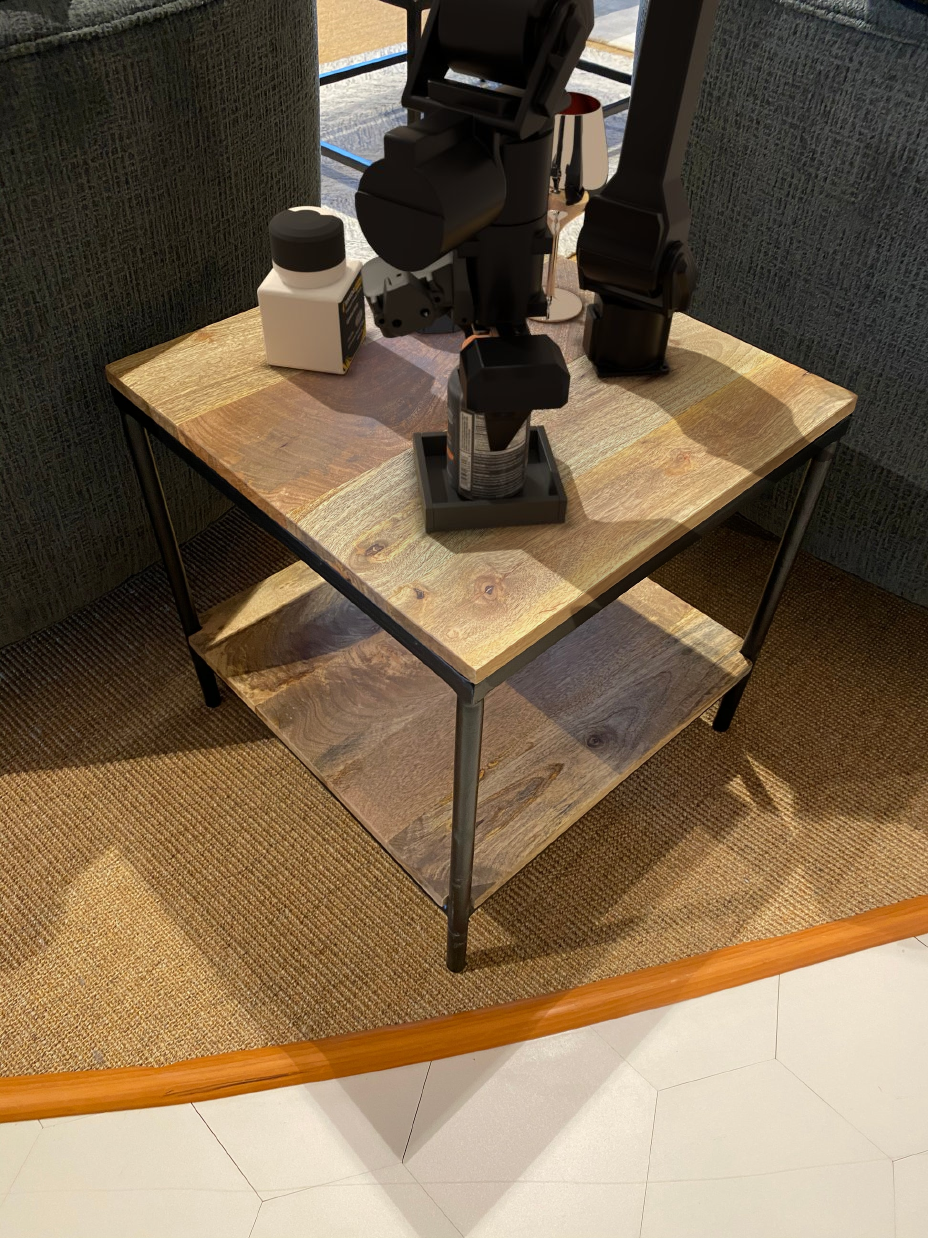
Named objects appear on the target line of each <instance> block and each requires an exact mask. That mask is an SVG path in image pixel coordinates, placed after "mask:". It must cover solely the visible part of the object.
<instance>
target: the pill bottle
mask: <svg viewBox="0 0 928 1238" xmlns="http://www.w3.org/2000/svg"><path fill="white" fill-rule="evenodd" d="M479 337H492V335H491V332H490V334H488V335H480V336H478V335H472V336H470V337H469V338H467V339H466V340H465V339H464V341H463V343H462V347H461V350H462V349H463V348H464V347H465V346H467V345H468V344H469V343H470V342H471V341H472V340H473V339H474V338H479ZM458 368H459V364H457V365H456V366H455V367H454V368H453V370H451V372H450V373H449V376H448V379H447V383H446V388H447V389H446V431H447V478H448V481H449V483H450V485H451V487H452V488H453V489H454V490H455V491H456V492H457V493H459V494H460V495H462V496H464V497H466V498H469V499H472V500H476V501H479V500H494V499H507V498H509V497H511V496H513V495H515V494H516V493H517V492H519V491H520V489H521V488H522V487H523V486H524V483H525V480H526V475H527V462H528V450H529V438H530V437H529V436H530V426H531V421H532V413H531V414H530V415H529V417H528V418H527V419H526V421H525V422H524V424H523V425H522V427H521V428H520V430H519V431H518V433H517V434H516V435H515V437H514V438H513V440H512V441H511V443H510V444H509V446H508V447H507V449H506V450H504V451H495V452H492V451H490V449H489V444H488V438H487V433H486V427H485V421H484V415H483V413H480V414H477V413H474V412H472V411H470V410H468V409H466V405H465V401H464V397H463V393H462V389H461V385H460V380H459V376H458V372H457V369H458Z"/></svg>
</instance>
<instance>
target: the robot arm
mask: <svg viewBox="0 0 928 1238" xmlns="http://www.w3.org/2000/svg"><path fill="white" fill-rule="evenodd" d="M720 1H721V0H648V5H647V11H646V15H645V22H644V26H643V30H642V31H643V32H642V36H641V42H640V47H639V52H638V58H637V63H636V68H635V74H634V77H633V78H634V79H633V83H632V84H633V85H632V90H631V95H630V100H629V104H628V105H629V106H628V111H627V116H626V121H625V126H624V131H623V137H622V142H621V147H620V153H619V156H618V157H619V158H618V163H617V167H616V171H615V173H614V174H613V175H612V176H611V177H610V178H609V180H607V183H606V185H605V186H604V187H603V188H602V190H601V191H600V192H599V193H598V194H597V195H593V196H592V197H591V198H590V199H589V201H588V202H587V204H586V205H585V212H584V213H583V222H582V226H581V228H580V231H579V232H578V236H577V239H576V243H575V256H576V267H577V268H576V269H577V279H578V288H579V290H582V291H585V292H586V291H588V292H591V293H594V296H593V303H589V304H588V305H587V306H586V310H585V311H586V312H585V320H584V327H583V335H582V345H581V346H582V348H583V351H584V353H585V357H586V359H587V361H589V362H590V363H591V365H592V368H593V370H594V372H595V375H596V377H598V378H600V379H613V378H615V379H616V378H632V377H646V376H647V377H651V376H652V377H653V376H667V375H669V374H670V372H671V366H670V364H669V362H668V360H667V358H666V354H667V349H668V345H669V344H668V343H669V339H670V334H671V327H672V322H673V318H674V314H675V313H676V314H678V313H685V312H688V311H689V310H690V307H691V302H692V298H693V294H694V293H695V290H696V289H697V281H698V279H699V278H698V277H699V274H700V270H699V267H698V265H697V263H696V260H695V259H694V255H693V253H692V251H691V248H690V246H689V244H688V239H689V232H690V228H691V222H692V212H691V208H690V206H689V202H688V199H687V195H686V193H685V189H684V186H683V182H682V180H681V173H682V168H683V163H684V159H685V155H686V151H687V150H686V149H687V145H688V141H689V136H690V132H691V129H692V124H693V120H694V116H695V115H694V114H695V112H696V111H695V110H696V106H697V103H698V97H699V93H700V89H701V84H702V80H703V76H704V72H705V68H706V67H705V66H706V63H707V58H708V53H709V49H710V44H711V41H712V36H713V32H714V27H715V23H716V19H717V15H718V10H719V5H720ZM594 3H595V1H594V0H432V1H431V5H430V8H429V11H428V15H427V18H426V20H425V24H424V27H423V30H422V33H421V36H420V38H419V42H418V44H417V48H416V51H415V54H414V58H413V60H412V64H411V66H410V70H409V71H408V76H407V79H406V81H405V84H404V87H403V91H402V93H401V97H400V105H401V107H402V108H403V109H407V110H410V111H414V112H418V113H420V114H423V117H422V118H420V119H418V120H416V121H414V122H412V123H410V124H407V125H399V126H396V127H394V128H392V129H390V130H388V131H386V132H385V133H384V135H383V137H382V138H383V157H381V158H379V159H378V160H376V161H374V162H371V164H370V165H369V166H368V167H366V168H365V169H364V171H363V173H362V175H361V176H360V178H359V182H358V187H357V190H356V191H355V193H354V209H355V215H356V220H357V222H358V225H359V228H360V231H361V233H362V235H363V237H364V238H365V241H366V242H367V244H368V245H369V247H370V248H371V249H372V251H373V252H374V253H375V254H376V255H377V256H375V257H373V258H371V259H369V260H368V261H366V262H365V263H364V264H363V266H362V268H361V278H362V285H363V293H364V299H365V300H366V303H367V304H368V306H369V309H370V311H371V314H372V316H373V324H374V326H375V327H376V328H378V329H379V330H380V333H381V335H382V336H383V337H384V338H386V339H395V338H398V337H400V338H403V337H406V336H409V335H411V334H413V333H417V332H416V331H419V330H421V329H424V328H427V327H429V326H431V325H433V323H434V321H435V319H438V318H440V317H442V316H444V315H445V314H446V315H447V316H448V317H449V318H450V319H451V320H452V322H453V325H457V326H459V327H460V328H461V329H460V330H461V331H462V332H463V335H464V336H463V337H464V341H465V340H466V339H467V338H469V337H470V336H472V335H478V336H480V335H488V334H490V332H491V335H492V337H479V338H474V339H473V340H472V341H471V342H470V343H469V344H468V345H467V346H465V347H464V348H463V349H462V348H461V350H459V358H458V360H459V363H458V365H459V368H458V369H457V372H458V376H459V380H460V385H461V389H462V393H463V397H464V401H465V405H466V409H468V410H470V411H472V412H474V413H477V414H480V413H483V415H484V421H485V427H486V433H487V438H488V444H489V449H490V451H492V452H495V451H504V450H506V449H507V447H508V446H509V444H510V443H511V441H512V440H513V438H514V437H515V435H516V434H517V433H518V431H519V430H520V428H521V427H522V425H523V424H524V422H525V421H526V419H527V418H528V417H529V415H530V414H531V415H532V413H533V412H534V411H543V410H545V411H546V410H560V409H562V408H563V407H565V406H566V405H567V404H568V403H569V397H570V389H571V388H570V386H571V377H572V376H571V373H570V371H569V367H568V365H567V363H566V360H565V358H564V357H565V356H564V355H563V352H562V350H561V347H560V345H559V344H557V342H555V341H554V339H552V338H551V337H550V336H549V335H548V334H547V333H540V334H538V333H537V334H532V332H531V329H530V327H529V325H528V321H527V319H530V317H547V308H548V301H547V298H546V295H545V293H544V290H543V288H542V287H543V277H544V276H543V275H544V263H545V255H549V254H552V251H553V240H554V238H553V235H552V233H551V231H550V228H549V226H548V224H547V216H548V202H549V189H550V177H551V165H552V152H553V140H554V128H555V115H557V114H559V113H560V112H562V111H564V110H566V109H567V108H569V106H570V104H571V96H570V94H569V93H568V92H567V91H568V90H567V89H566V87H567V85H568V83H569V81H570V80H571V79H570V78H571V77H572V74H573V72H574V71H575V69H576V67H577V65H578V63H579V61H580V60H581V56H582V54H583V52H584V51H585V50H586V46H587V42H588V39H589V37H590V35H591V33H592V31H593V29H594V27H595V23H596V21H595V4H594ZM449 70H451V71H452V72H453V73H455V74H460V75H464V76H467V77H472V78H477V79H480V80H485V81H488V82H492V83H496V84H500V85H499V86H497V87H495V88H494V89H490V88H486V87H482V86H478V85H474V84H470V83H465V82H463V81H457V80H454V79H450V78H446V75H447V74H448V72H449ZM541 289H542V291H541Z"/></svg>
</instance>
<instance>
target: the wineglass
mask: <svg viewBox="0 0 928 1238" xmlns="http://www.w3.org/2000/svg"><path fill="white" fill-rule="evenodd" d="M566 91H567V92H568V93H569V94H570V96H571V104H570V106H569V108H567V109H566V110H564V111H562V112H560V113H559V114H557V115H555V128H554V140H553V152H552V165H551V177H550V189H549V202H548V216H547V224H548V226H549V228H550V231H551V233H552V235H553V238H554V240H553V251H552V254H548V260H547V271H546V281H545V286H542V288H543V290H544V293H545V295H546V298H547V301H548V308H547V317H530V318H529V319H531V320H533V321H534V320H535V321H537V322H538V321H539V322H543V323H560V322H565V321H569V320H571V319H574V318H576V317H577V316H578V315H579V314H581V312H582V309H583V303H582V301H581V299H580V298H579V296H577V295H576V294H575V293H573V292H570V291H569V290H566V289H563V288H558V287H556V273H557V262H558V253H559V251H558V250H559V241H560V234H561V232H562V231H563V229H564V228H565V227H567V225H568V224H569V223H571V222H572V221H573V220H575V219H577V218H578V217H580V216H581V215H582V214H584V212H585V205H586V204H587V202H588V201H589V199H590V198H591V197H592V196H593V195H597V194H598V193H599V192H600V191H601V190H602V188H603V187H604V186H605V185H606V184H607V182H608V179H609V151H608V142H607V134H606V127H605V126H606V125H605V119H604V118H605V117H604V112H603V104H602V102H601V100H600V99H599V98H598V97H595V96H593V95H590V94H587V93H583V92H578V91H571V90H566ZM541 291H542V289H541Z"/></svg>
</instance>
